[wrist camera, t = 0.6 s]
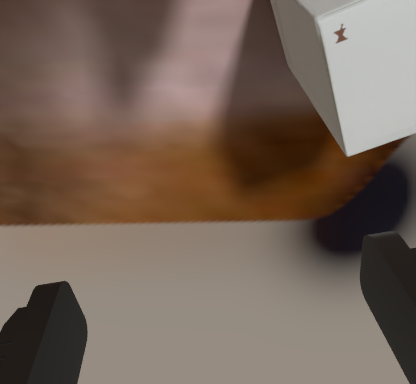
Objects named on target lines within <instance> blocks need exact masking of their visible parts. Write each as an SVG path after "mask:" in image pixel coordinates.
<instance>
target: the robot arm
mask: <svg viewBox="0 0 416 384" xmlns="http://www.w3.org/2000/svg"><path fill="white" fill-rule="evenodd" d="M360 284H361V289H362V293H363V295H364V298H365V300H366V302H367V304H368V306H369V307H370V310H371V311H372V313H373V315H374V317H375V319H376V321H377V323H378V325H379V327H380V328H381V330H382V332H383V334H384V336H385V338H386V340H387V342H388V343H389V345H390V347H391V349H392V351H393V353H394V355H395V357H396V359H397V360H398V362H399V364H400V366H401V368H402V370H403V372H404V374H405V376H406V377H407V379H408V381H409V383H410V384H416V248H412V249H410V248H409V247H408V245H407V244H406V243H405V241H404V240H403V239H402V238H401V236H400V235H399V234H398V233H397V232H395V231H390V232H384V233H377V234H371V235H366V236H364V239H363V246H362V257H361V269H360ZM86 342H87V324H86V319H85V317H84V315H83V312H82V310H81V308H80V306H79V304H78V302H77V299H76V297H75V295H74V293H73V291H72V289H71V287H70V285H69V283H68V282H66V281H62V282H56V283H50V284H43V285H38V286H36V287H35V289H34V290H33V292H32V295H31V297H30V300H29V302H28V304H27V307H23V308H18V309H17V310H16V312H15V313H14V314H13V315H12V316H11V317H10V318H9V320H8V321H7V322H6V323H5V324H4V326H3V328H2V330H1V332H0V384H77V382H78V378H79V373H80V369H81V364H82V360H83V355H84V351H85V347H86Z"/></svg>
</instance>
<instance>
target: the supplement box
mask: <svg viewBox="0 0 416 384" xmlns="http://www.w3.org/2000/svg"><path fill="white" fill-rule="evenodd" d="M270 1H271V5H272V9H273V13H274V17H275V21H276V24H277V28H278V32H279V35H280V39H281V43H282V47H283V50H284V54H285V58H286V61H287V64H288V67H289V69H290V70H291V71H292V73H293V75H294V76H295V78H296V79H297V81H298V82H299V84H300V85H301V87H302V88H303V90H304V92H305V93H306V95H307V96H308V98H309V99H310V101H311V102H312V104H313V106H314V107H315V109H316V111H317V112H318V114H319V115H320V117H321V118H322V120H323V121H324V123H325V124H326V126H327V127H328V129H329V131H330V132H331V134H332V135H333V137H334V138H335V140H336V141H337V143H338V144H339V146H340V147H341V149H342V151H343V152H344V153H345V155H346V156H348V157H349V156H352V155H355V154H357V153H360V152H363V151H366V150H369V149H371V148H374V147H377V146H380V145H383V144H386V143H388V142H391V141H394V140H397V139H400V138H403V137H406V136H409V135H412V134H415V133H416V0H270Z"/></svg>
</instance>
